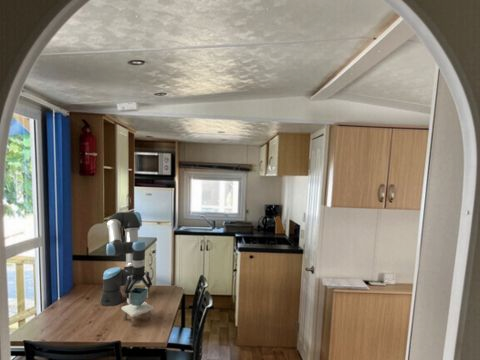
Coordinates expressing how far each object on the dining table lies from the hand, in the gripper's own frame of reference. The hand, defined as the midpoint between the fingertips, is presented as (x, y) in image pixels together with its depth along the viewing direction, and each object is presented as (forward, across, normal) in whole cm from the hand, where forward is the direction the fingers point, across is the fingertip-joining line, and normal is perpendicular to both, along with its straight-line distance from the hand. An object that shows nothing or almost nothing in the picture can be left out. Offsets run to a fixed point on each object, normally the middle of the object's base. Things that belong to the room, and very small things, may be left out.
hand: (137, 300), depth 179 cm
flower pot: (+3, 0, 0) cm, 3 cm away
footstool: (+12, 0, 0) cm, 12 cm away
